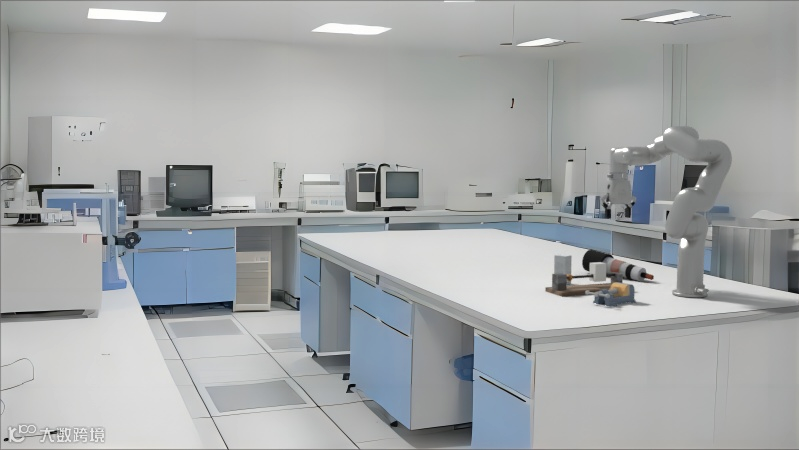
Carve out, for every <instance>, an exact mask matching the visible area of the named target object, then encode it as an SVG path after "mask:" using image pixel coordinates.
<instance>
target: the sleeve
mask: <svg viewBox="0 0 799 450" xmlns="http://www.w3.org/2000/svg"><path fill="white" fill-rule="evenodd" d="M588 272H589V274H588V275H594V276H593V277H589V278H588V279H589V281H591V282H594V283H595V282H596V283H600V282H607V276H606V263H602V262H595V263H590V271H588Z"/></svg>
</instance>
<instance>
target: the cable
mask: <svg viewBox="0 0 799 450" xmlns="http://www.w3.org/2000/svg"><path fill="white" fill-rule="evenodd" d="M581 262H582V263H581V265H582V268H583V270H585V271H586V272H589V271H590V263H595V262H602V263H606V274H611V272H616V273H621V274H623V279H629V280H632V281H638V282H643V281H645V280H647V279H648V280H650V281H653V280H654V278H655V276H654V275H653V274H650V273H647V270H646V268H644V267H641V266H639V265H634V264H632V263H630V262H627V261H623V260H620V259H617V258H614V255H612V254H611V253H607V252H606V253H605V252H603V251H599V250H594V249H588V250H587V251H586V252H585V253H584V254H583V257H582V261H581Z"/></svg>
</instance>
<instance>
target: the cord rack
mask: <svg viewBox="0 0 799 450" xmlns="http://www.w3.org/2000/svg"><path fill="white" fill-rule="evenodd" d="M551 276H552V277H551V278H552V279H551V280H552V281H551V286H548V287H544V288H545V290H544V291H545V292H547V293H550V294H553V295H555V296H559V297H571V296H573V297H575V295H576V296H587V294H586V293H585V292H586V291H587V290H588V291H590V292H593V293H595V292H599V290H602V289H607V290H609V289H610V288H611V285H612V284H613V283H615V282H619V283H624V282H623V281H624V280H623V279H624V277H623V274H621V273H616V272H611V274H606V277H610V282H606V283H604V282H603V283H593V284H578V285H577V284H576V285H568V284H567V280H568V281H571V282H572V280H573V279H589V277H593V276H594V275H589V274H583V275H572V273H571V274H567V275H566V274H562V273H557V274H554V273H552V274H551Z"/></svg>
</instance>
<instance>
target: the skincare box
mask: <svg viewBox="0 0 799 450" xmlns="http://www.w3.org/2000/svg"><path fill="white" fill-rule="evenodd" d="M553 257H554V261H553V262H554V264H553V265H554V267H553V268H554V269H553V270H554V271H553V274H557V273H562V274H566V275H567V274H571V275H572V258H573V257H572V255H569V254H562V253H561V254H559V253H558V254H554V256H553ZM571 284H572V280H571V281H568V280H567V285H571Z"/></svg>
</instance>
